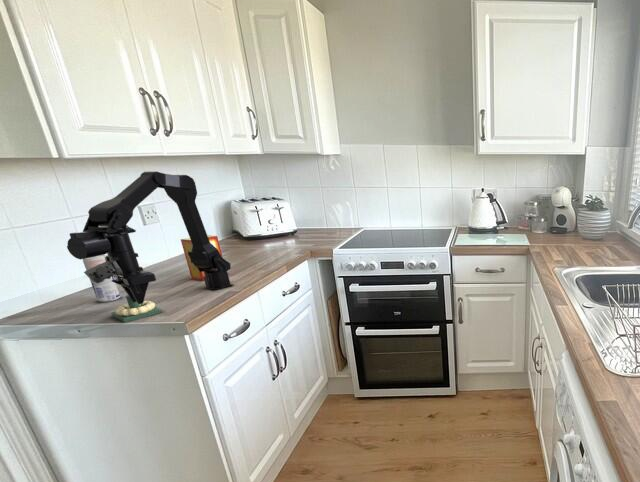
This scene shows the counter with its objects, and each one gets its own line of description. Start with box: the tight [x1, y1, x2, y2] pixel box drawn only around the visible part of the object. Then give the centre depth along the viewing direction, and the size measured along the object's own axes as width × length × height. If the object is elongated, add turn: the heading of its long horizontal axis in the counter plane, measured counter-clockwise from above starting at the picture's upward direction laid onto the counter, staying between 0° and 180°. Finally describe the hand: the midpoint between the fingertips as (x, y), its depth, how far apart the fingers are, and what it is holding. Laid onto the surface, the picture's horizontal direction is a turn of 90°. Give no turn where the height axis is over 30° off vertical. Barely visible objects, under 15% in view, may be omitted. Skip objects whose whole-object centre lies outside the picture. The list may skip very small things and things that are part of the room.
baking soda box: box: [180, 234, 224, 282], centre depth 161 cm, size 10×6×16 cm
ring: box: [114, 300, 156, 316], centre depth 125 cm, size 9×9×2 cm
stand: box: [111, 294, 162, 323], centre depth 125 cm, size 9×9×6 cm
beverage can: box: [82, 254, 121, 303], centre depth 136 cm, size 6×6×15 cm
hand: (138, 302), depth 122 cm, fingers open, 3 cm apart
